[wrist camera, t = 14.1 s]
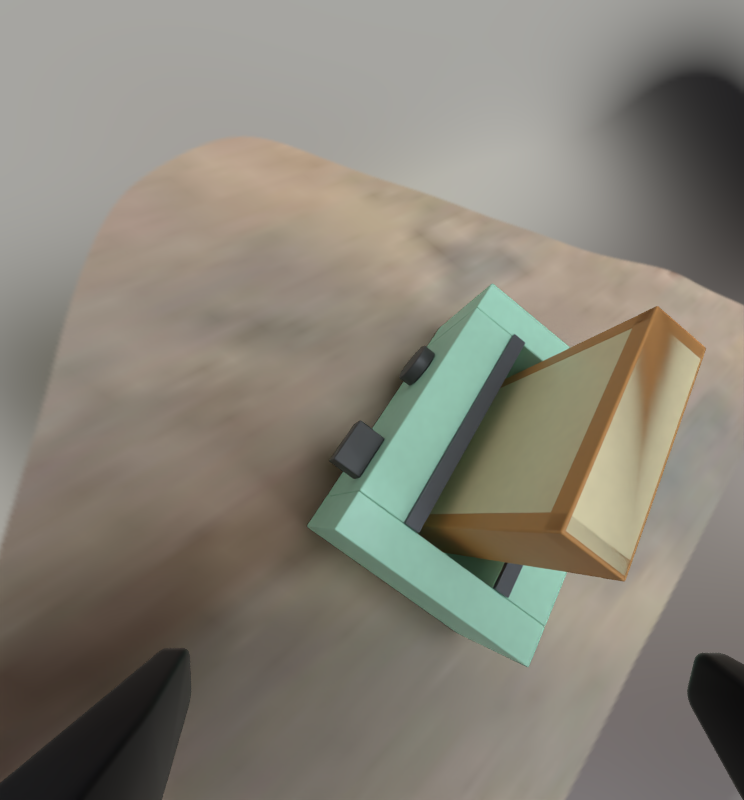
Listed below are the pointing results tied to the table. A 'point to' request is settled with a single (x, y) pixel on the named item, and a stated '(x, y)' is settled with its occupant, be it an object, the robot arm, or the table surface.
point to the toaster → (442, 479)
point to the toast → (572, 453)
